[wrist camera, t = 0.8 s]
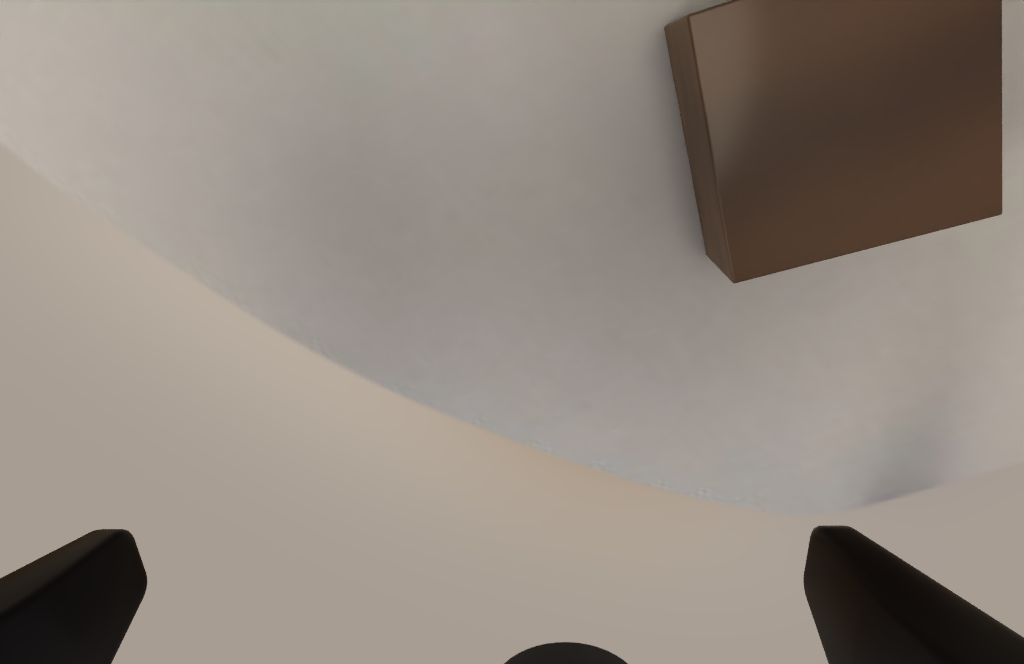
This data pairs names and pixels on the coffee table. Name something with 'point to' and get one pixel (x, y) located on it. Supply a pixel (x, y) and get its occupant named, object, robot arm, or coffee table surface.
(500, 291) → the coffee table surface
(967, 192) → the walnut block
